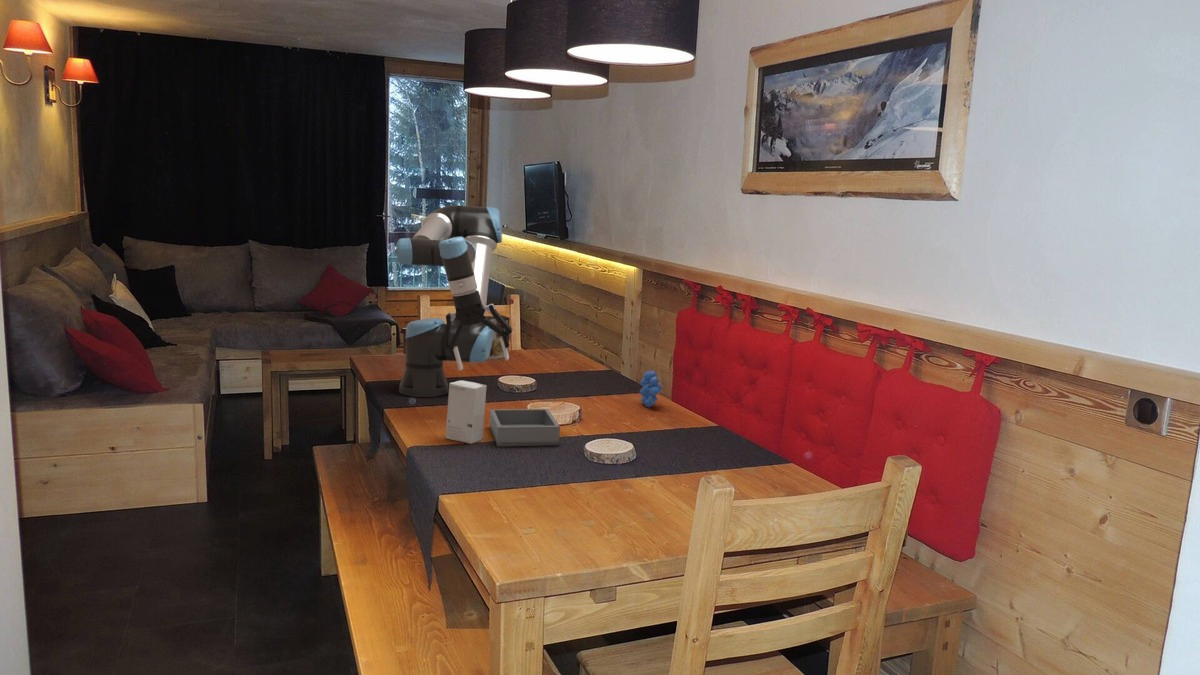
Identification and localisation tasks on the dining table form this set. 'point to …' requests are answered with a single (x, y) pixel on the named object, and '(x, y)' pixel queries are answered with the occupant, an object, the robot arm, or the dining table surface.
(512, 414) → the tote
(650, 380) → the grapes
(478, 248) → the robot arm
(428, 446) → the dining table surface
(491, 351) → the coffee box
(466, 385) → the skincare box
